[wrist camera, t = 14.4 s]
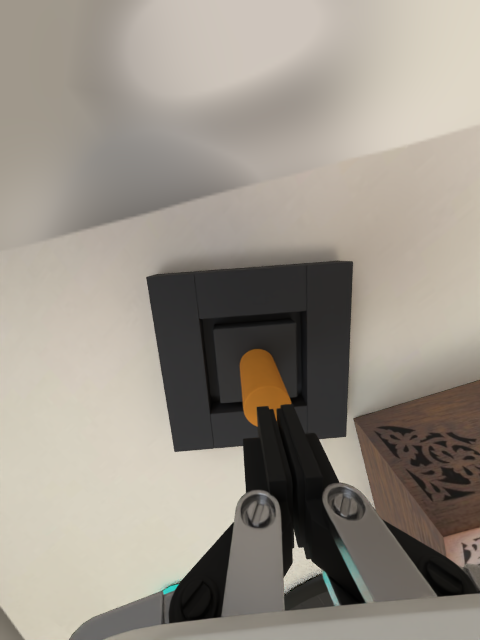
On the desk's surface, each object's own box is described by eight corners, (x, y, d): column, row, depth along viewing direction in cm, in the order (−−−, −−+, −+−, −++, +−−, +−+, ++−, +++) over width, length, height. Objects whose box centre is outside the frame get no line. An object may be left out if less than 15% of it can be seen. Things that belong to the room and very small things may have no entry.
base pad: (156, 274, 19) (146, 276, 17) (338, 260, 19) (353, 261, 17) (180, 432, 23) (174, 452, 20) (334, 418, 23) (346, 437, 21)
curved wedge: (257, 582, 28) (259, 602, 26) (379, 560, 28) (388, 579, 26) (269, 632, 30) (271, 653, 28) (382, 611, 30) (391, 631, 28)
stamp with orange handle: (214, 324, 19) (205, 360, 13) (291, 318, 20) (323, 351, 13) (221, 393, 21) (216, 459, 14) (292, 387, 21) (322, 450, 14)
